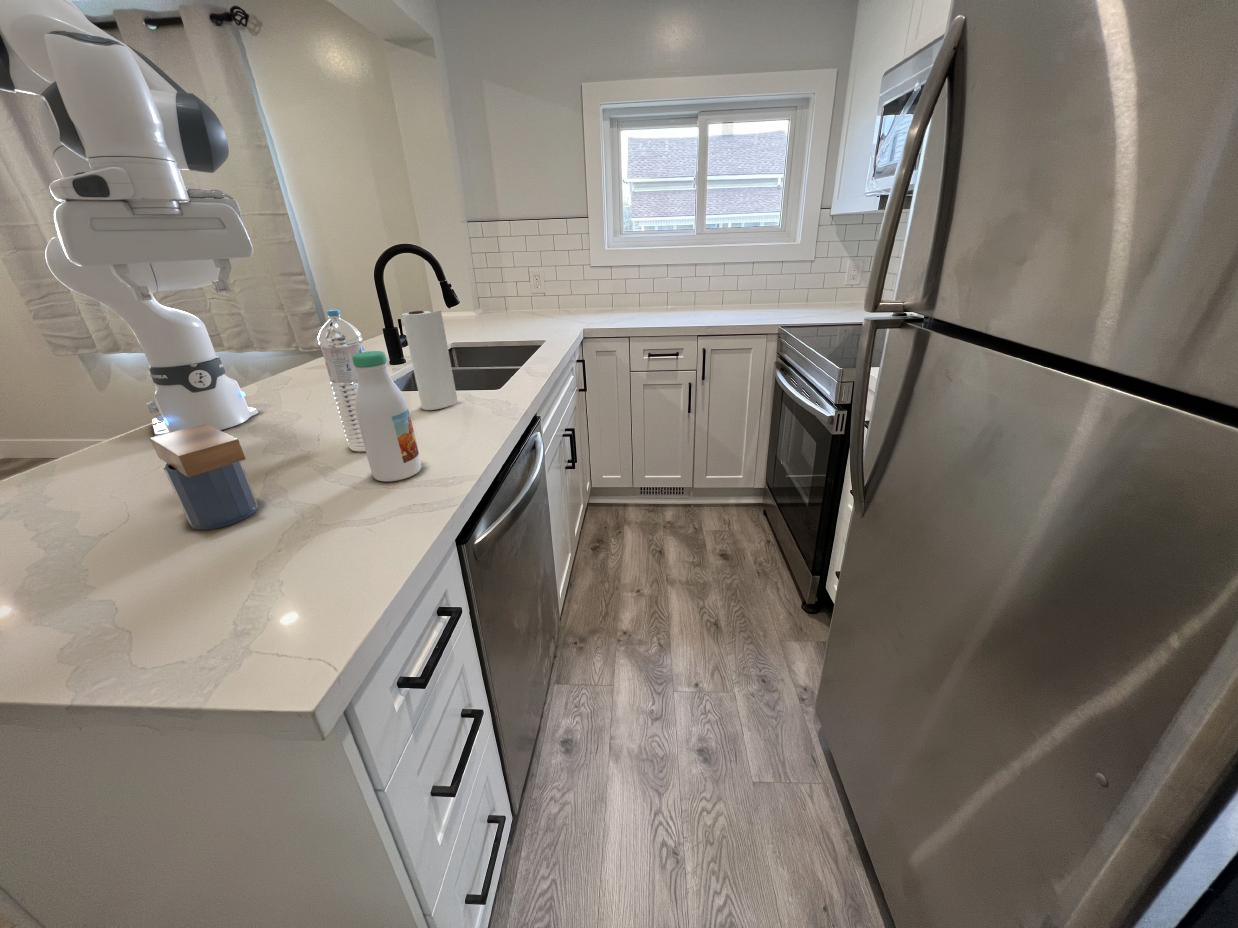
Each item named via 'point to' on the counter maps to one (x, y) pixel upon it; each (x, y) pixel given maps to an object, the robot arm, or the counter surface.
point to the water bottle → (343, 371)
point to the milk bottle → (384, 420)
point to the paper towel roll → (430, 359)
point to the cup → (214, 496)
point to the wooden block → (197, 449)
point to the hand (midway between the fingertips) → (185, 296)
